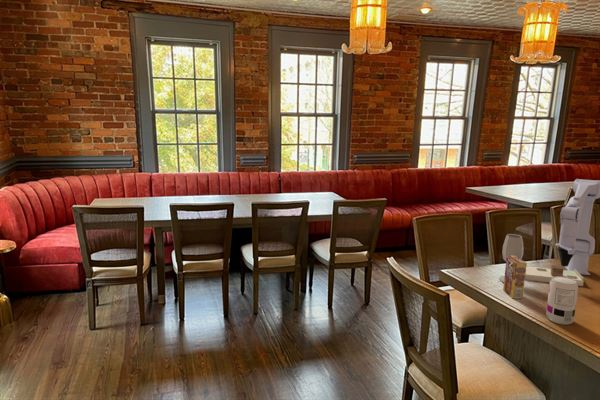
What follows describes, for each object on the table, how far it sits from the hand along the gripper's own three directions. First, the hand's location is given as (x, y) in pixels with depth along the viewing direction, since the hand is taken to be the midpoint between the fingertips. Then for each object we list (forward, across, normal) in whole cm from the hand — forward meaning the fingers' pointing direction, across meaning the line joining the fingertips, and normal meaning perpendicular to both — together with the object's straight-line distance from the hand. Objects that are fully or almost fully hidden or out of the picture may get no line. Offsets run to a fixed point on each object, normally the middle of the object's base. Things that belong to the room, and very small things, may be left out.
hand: (564, 265), depth 168 cm
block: (+7, -6, -1) cm, 9 cm away
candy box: (+10, +16, -21) cm, 28 cm away
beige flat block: (+9, -9, -3) cm, 13 cm away
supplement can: (+10, +36, -9) cm, 38 cm away
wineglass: (+9, +2, -20) cm, 22 cm away
